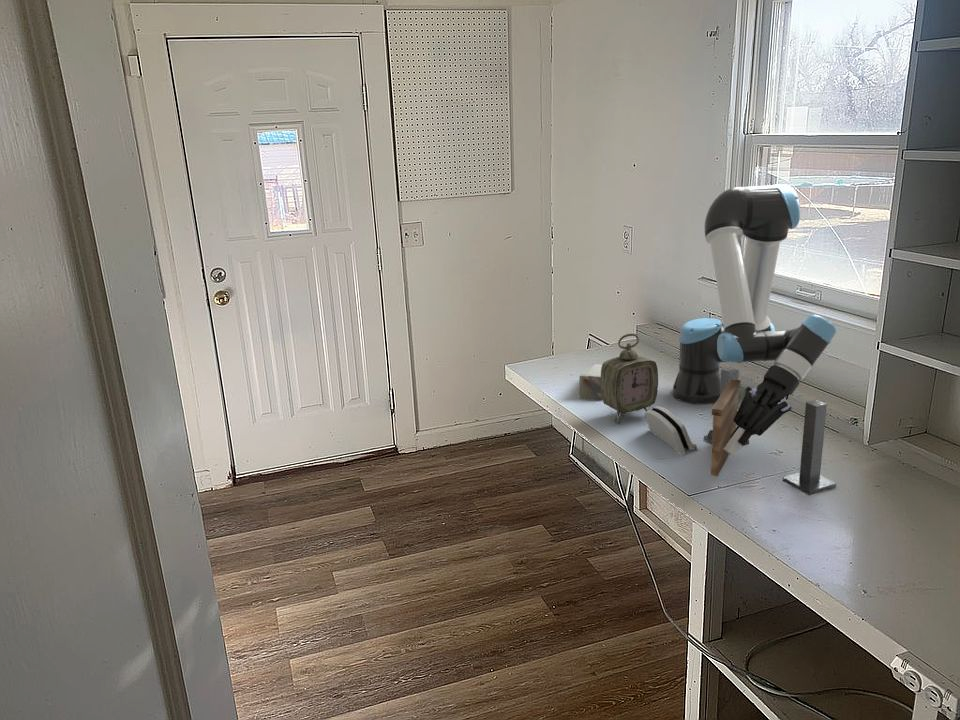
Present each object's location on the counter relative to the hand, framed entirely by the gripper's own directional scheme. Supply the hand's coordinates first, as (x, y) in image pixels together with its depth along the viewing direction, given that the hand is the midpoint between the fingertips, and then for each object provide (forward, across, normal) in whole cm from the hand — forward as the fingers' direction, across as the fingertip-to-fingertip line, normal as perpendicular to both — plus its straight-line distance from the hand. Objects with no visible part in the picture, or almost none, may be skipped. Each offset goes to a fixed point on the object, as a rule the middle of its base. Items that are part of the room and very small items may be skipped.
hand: (728, 452), depth 176 cm
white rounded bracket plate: (+4, +23, -5) cm, 24 cm away
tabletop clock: (+4, +42, -5) cm, 43 cm away
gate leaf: (+1, +6, -5) cm, 8 cm away
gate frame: (-5, +1, -13) cm, 14 cm away
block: (0, +66, -9) cm, 67 cm away
